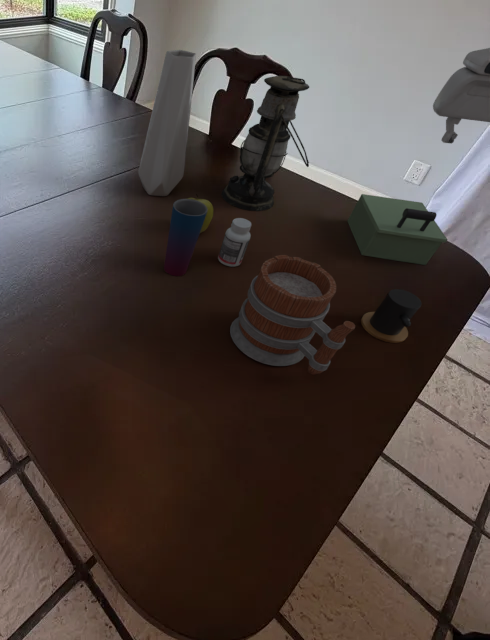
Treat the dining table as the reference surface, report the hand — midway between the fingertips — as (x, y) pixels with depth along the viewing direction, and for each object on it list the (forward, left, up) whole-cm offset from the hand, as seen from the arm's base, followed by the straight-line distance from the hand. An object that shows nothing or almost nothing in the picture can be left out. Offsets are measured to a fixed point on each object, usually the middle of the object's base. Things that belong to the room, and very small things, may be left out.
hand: (472, 145), depth 85 cm
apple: (+48, 0, -27) cm, 55 cm away
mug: (+31, +38, -27) cm, 56 cm away
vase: (+59, -18, -27) cm, 67 cm away
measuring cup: (+9, +27, -27) cm, 39 cm away
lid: (0, -8, -20) cm, 22 cm away
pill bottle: (+39, +11, -27) cm, 49 cm away
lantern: (+31, -22, -27) cm, 47 cm away
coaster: (+9, +26, -27) cm, 39 cm away
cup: (+51, +18, -27) cm, 61 cm away
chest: (0, -9, -27) cm, 29 cm away
